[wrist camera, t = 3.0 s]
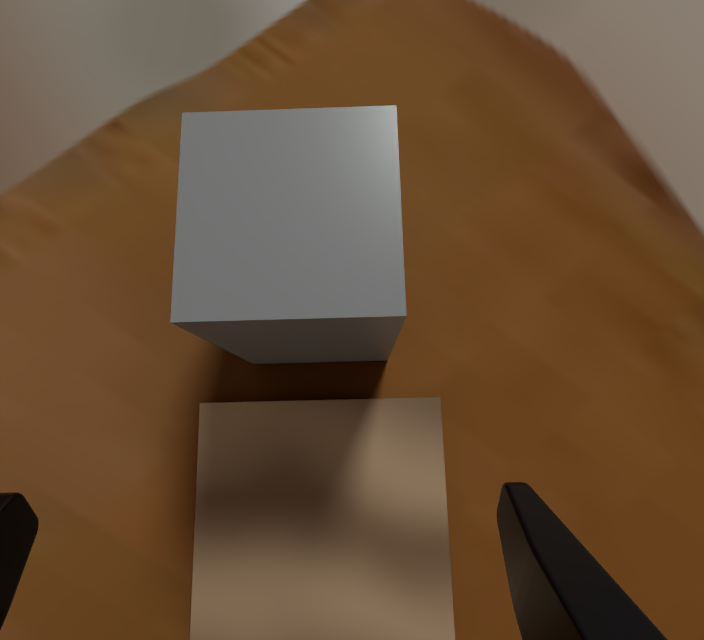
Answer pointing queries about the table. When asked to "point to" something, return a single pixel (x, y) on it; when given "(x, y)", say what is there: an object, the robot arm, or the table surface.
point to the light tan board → (321, 521)
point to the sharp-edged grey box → (291, 233)
